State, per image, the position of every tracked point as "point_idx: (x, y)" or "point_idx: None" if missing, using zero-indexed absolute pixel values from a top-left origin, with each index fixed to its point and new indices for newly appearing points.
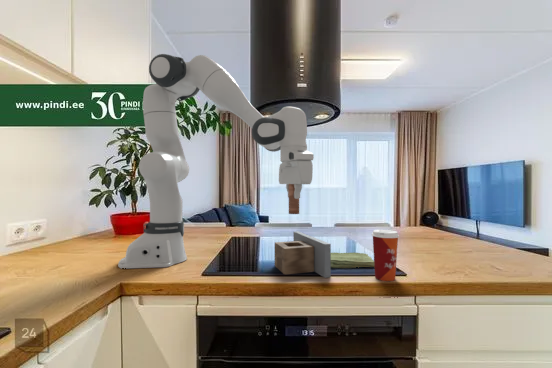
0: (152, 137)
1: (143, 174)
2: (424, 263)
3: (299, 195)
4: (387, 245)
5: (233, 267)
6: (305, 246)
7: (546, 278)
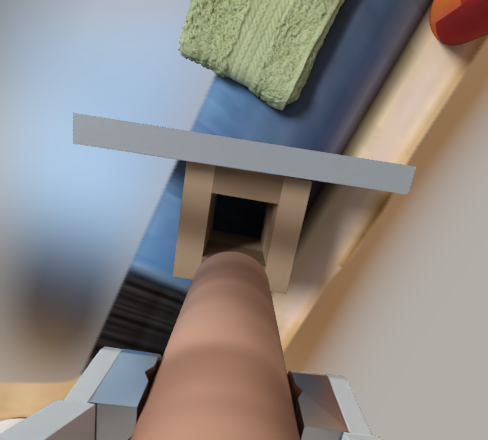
0: None
1: None
2: None
3: (356, 409)
4: None
5: (157, 342)
6: (293, 210)
7: None
